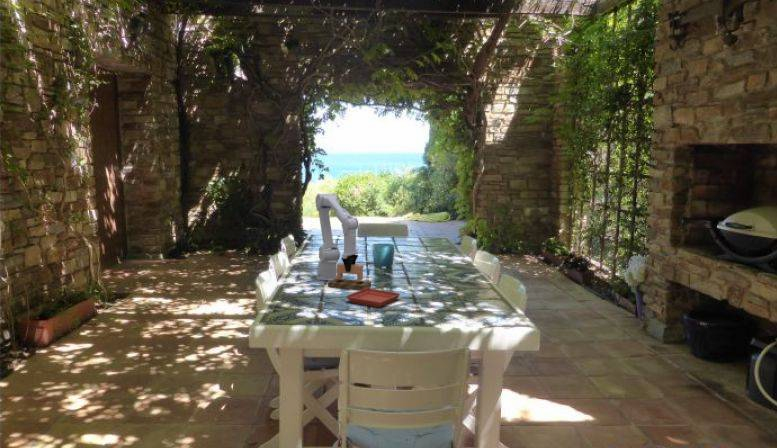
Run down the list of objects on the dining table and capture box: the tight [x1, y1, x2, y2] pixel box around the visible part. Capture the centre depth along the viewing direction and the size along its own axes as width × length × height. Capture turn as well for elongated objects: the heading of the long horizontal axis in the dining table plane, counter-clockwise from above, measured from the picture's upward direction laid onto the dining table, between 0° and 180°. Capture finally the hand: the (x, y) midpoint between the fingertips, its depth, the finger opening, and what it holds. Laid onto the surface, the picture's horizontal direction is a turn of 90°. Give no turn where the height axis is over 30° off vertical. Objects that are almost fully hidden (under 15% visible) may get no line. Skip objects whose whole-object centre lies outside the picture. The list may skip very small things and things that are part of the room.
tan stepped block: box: [337, 262, 364, 281], centre depth 268 cm, size 12×4×7 cm, turn 72°
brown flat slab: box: [327, 278, 372, 291], centre depth 269 cm, size 19×9×2 cm, turn 72°
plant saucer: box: [345, 288, 401, 308], centre depth 245 cm, size 18×18×3 cm
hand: (349, 270), depth 268 cm, fingers closed on tan stepped block, 4 cm apart
